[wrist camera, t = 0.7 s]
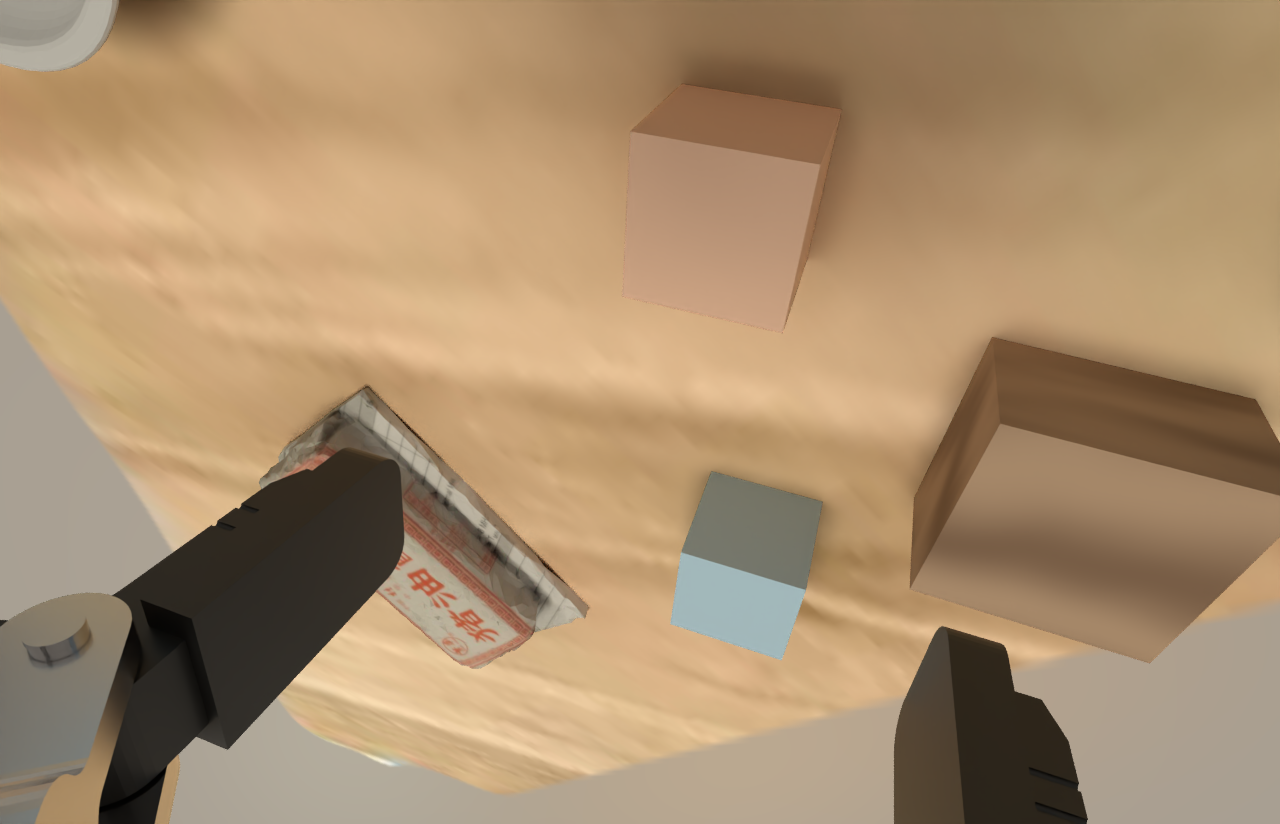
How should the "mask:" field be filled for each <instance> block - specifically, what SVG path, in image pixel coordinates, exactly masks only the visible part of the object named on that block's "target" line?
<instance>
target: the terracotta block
mask: <svg viewBox="0 0 1280 824" xmlns="http://www.w3.org/2000/svg"><path fill="white" fill-rule="evenodd" d="M841 111H842V109H837V108H831V107H825V106H818V105H812V104H806V103H799V102H793V101H787V100H781V99H774V98H768V97H762V96H755V95H749V94H743V93H736V92H730V91H724V90H717V89H711V88H705V87H698V86H692V85H686V84H681V85H680V86H679V87H678V88H677V89H676V90H675V91H674V92H672V93H671V94H670V95H669V96H668V97H667V98H666V99H665V100H664V101H663V102H662V103H661V104H659V105H658V106H657V107H656V108H655V109H654V110H653V111H652V112H651V113H650V114H649V115H648V116H647V117H645V118H644V119H643V120H642V121H641V122H640V123H639V124H638V125H637V126H636V127H635V128H634V129H632V130H631V131H630V149H629V169H628V190H627V210H626V230H625V251H624V271H623V292H622V297H625V298H630V299H634V300H639V301H643V302H647V303H652V304H656V305H661V306H665V307H669V308H674V309H678V310H683V311H687V312H691V313H696V314H700V315H705V316H709V317H713V318H718V319H722V320H727V321H731V322H736V323H740V324H744V325H749V326H753V327H758V328H762V329H766V330H771V331H775V332H780V333H783V331H784V328H785V325H786V322H787V319H788V316H789V313H790V310H791V307H792V304H793V301H794V298H795V295H796V292H797V289H798V286H799V283H800V280H801V276H802V273H803V270H804V267H805V264H806V261H807V258H808V253H809V249H810V245H811V241H812V236H813V232H814V228H815V223H816V219H817V215H818V210H819V206H820V202H821V197H822V193H823V189H824V184H825V180H826V176H827V172H828V167H829V163H830V159H831V154H832V150H833V146H834V141H835V137H836V133H837V128H838V124H839V120H840V116H841Z"/></svg>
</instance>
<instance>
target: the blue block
mask: <svg viewBox="0 0 1280 824" xmlns="http://www.w3.org/2000/svg"><path fill="white" fill-rule="evenodd" d="M822 503H823V502H822V501H818V500H814V499H811V498H807V497H804V496H800V495H796V494H793V493H789V492H785V491H782V490H778V489H774V488H771V487H767V486H764V485H760V484H756V483H753V482H749V481H745V480H742V479H738V478H734V477H731V476H727V475H724V474H720V473H716V472H713V471H711V474H710V477H709V479H708V482H707V485H706V487H705V490H704V493H703V495H702V498H701V501H700V503H699V506H698V509H697V511H696V514H695V517H694V519H693V522H692V525H691V527H690V530H689V533H688V535H687V538H686V541H685V543H684V546H683V549H682V552H681V557H680V564H679V570H678V577H677V584H676V590H675V597H674V603H673V610H672V617H671V623H670V624H672V625H675V626H678V627H681V628H684V629H687V630H690V631H694V632H697V633H700V634H703V635H706V636H709V637H712V638H715V639H718V640H721V641H724V642H727V643H730V644H733V645H736V646H740V647H743V648H746V649H749V650H752V651H755V652H758V653H761V654H764V655H767V656H770V657H773V658H776V659H779V660H782V658H783V655H784V652H785V649H786V646H787V643H788V640H789V637H790V635H791V632H792V629H793V626H794V623H795V620H796V617H797V614H798V611H799V609H800V606H801V603H802V600H803V597H804V594H805V591H806V587H807V582H808V576H809V571H810V566H811V560H812V555H813V550H814V545H815V539H816V534H817V529H818V524H819V518H820V513H821V508H822Z"/></svg>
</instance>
